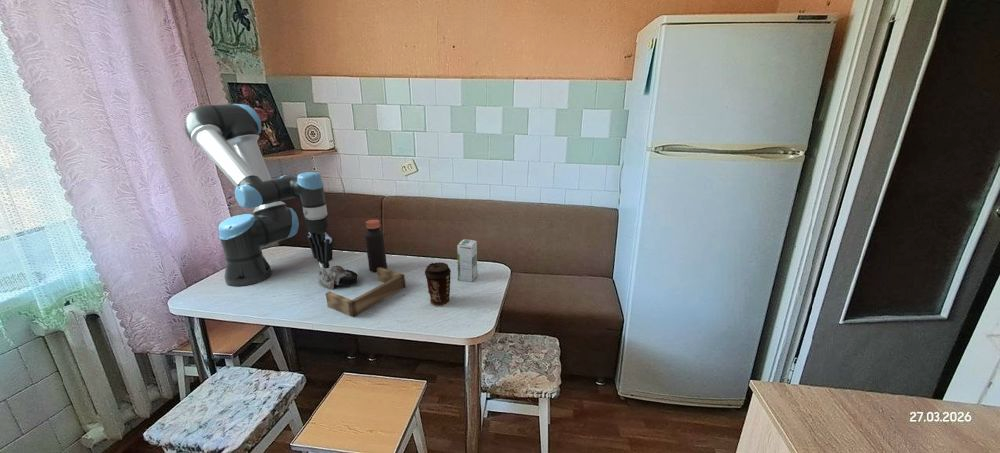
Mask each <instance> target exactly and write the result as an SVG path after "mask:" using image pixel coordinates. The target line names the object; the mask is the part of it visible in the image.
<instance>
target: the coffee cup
mask: <svg viewBox="0 0 1000 453" xmlns="http://www.w3.org/2000/svg"><path fill="white" fill-rule="evenodd" d="M424 275H425V279H426V283H427V291H428V294H429V295H430V300H429V301H430V302H429V303H430V305H431V306H434V307H440V308H441V307H444V306H446V305H448V304H449V302H450V296H451V268H450V267H449V264H448V263H446V262H442V261H441V262H431V263H429V264H428V265H427V266H426V269H425V270H424Z"/></svg>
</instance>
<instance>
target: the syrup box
mask: <svg viewBox="0 0 1000 453" xmlns="http://www.w3.org/2000/svg"><path fill="white" fill-rule="evenodd" d="M456 247H457V249H456V251H457V252H456V253H457V280H458V281H462V282H471V283H472V282H474V280H475V279H476V277H477V276H478V241H477V240H474V239H462V240H461V241H460V242H459V243H458V244H457V246H456Z"/></svg>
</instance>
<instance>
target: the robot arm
mask: <svg viewBox="0 0 1000 453" xmlns="http://www.w3.org/2000/svg"><path fill="white" fill-rule="evenodd" d="M184 121H185V122H184V131H185V133H186V136H187V137H188V139H189V140H190V141H191V142H192V144H193V145H194V146H196V147H198V148H201V149H202V150H203V151H204V152H205V154H206V155H207V156H208V157H209V158H210V159H211V161H212V162H213V163H214V164H215V165H216V167H218V169H219V170H220V171H221V172H222V174H224V176H225V177H226V178H227V179H228V180H229V181H230V183H231V184H232V185H233V186H234V187H235V189H234V197H235V200H236V202H237V204H238V205H239V206H240V208H241V207H242V208H243V209H250V208H252V209H253V208H254V210H253V211H252V214H251V213H243V214H237V215H233V216H230V217H228V218H226V219H224V220H223V221H221V222H220V224H219V225H218V234H219V236H218V237H219V240H220V242H221V246H222V249H223V255H224V258H225V261H226V263H225V271H224V276H223V277H224V281H225V284H226V285H228V286H232V287H242V286H249V285H253V284H256V283H259V282H262V281H264V280H266V279H268V278H270V276H271V275H272V273H273V271H272V266H271V264H269V262H268V261H267V259H266V258H265V256H264V254H263V250H262V247H265V246H267V245H271V244H274V243H277V242H281V241H284V240H287V239H289V238H292V237H294V236H295V235H296V234H297V233H298V230H299V227H300V225H299V224H300V223H299V217H298V215H297V212H296V211H295V210H294V209H293V208H291V207H287V204H286V203H285V202H284V201H286V200H291V199H294V198H295V199H300V201H301V207H302V213H303V217H304V223H305V228H306V230H308V231H309V232H307V233H305V236H306V239H307V241H308V244H309V247H310V250H311V253H312V256H313V258H314V259H315V260H316V261H317V262H318V265H319V268H320V267H323V268H325V269H327V268H329V267H330V263H329V262H331V261H333V258H334V257H333V253H334V252H333V249H334V248H333V246H334V245H333V243H334V240H335V239H334V236H332V237H330V236H329V232H328V228H329V226H330V222H329V216H328V210H327V209H328V208H327V203H326V198H325V197H326V196H325V190H324V189H325V188H324V182H323V180H322V175H321V173H319V172H317V171H313V172H312V171H307V172H302V173H299V174H297V175H295V174H294V175H293V174H285V175H284V174H283V175H281V176H279V178H275V179H272V177H271V174H270V172H269V169H268V167H267V165H266V162H265V159H264V156H263V154H262V152H261V149H260V147H259V144H258V141H259V139H260V135H259V134H260V133H261V132H262V129H263V128H262V122H261V119H260V116H259V114H258V113H257V112H256V110H255V109H254V108H253V107H252V106H250V105H248V104H244V103H243V104H241V103H239V104H238V103H231V104H209V105H208V104H205V105H203V104H202V105H200V106H199V105H198V106H196V107H194V108H193V109H191V110H190V111H189V112H188V114H187V116H186V117H185V120H184Z"/></svg>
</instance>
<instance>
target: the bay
mask: <svg viewBox="0 0 1000 453" xmlns="http://www.w3.org/2000/svg"><path fill="white" fill-rule="evenodd" d="M376 275H377V281H378V282H380V283H381V284H379V285H378V286H376V287H373V288H371V289H370V290H368V291H366V292H364V293H362V294H361V295H359V296H357V297H355V298H352V299H351V298H348V297H345V296H344V295H343V296H342V295H341V294H337V293H335V292H333V291H330V290H329V291H326V292H325V299H326V305H327V307H328V308H330V309H333V310H335V311H337V312H339V313H342V314H344V315H347V316H349V317H352V318H354V317H356V316H358V315H360V314H362V313H363V312H365V311H367V310H369V309H371V308H372V307H374V306H375V305H377V304H379V303H381V302H383V301H385V300H386V299H388V298H389V297H391V296H393V295H395V294H397V293H398V292H400V291H401V290H403V289H405V288H406V287H407V286H406V277H405V274H404V273H400V272H397V271H393V270H390V269H384V268H381V267H379V268H377V273H376Z"/></svg>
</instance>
